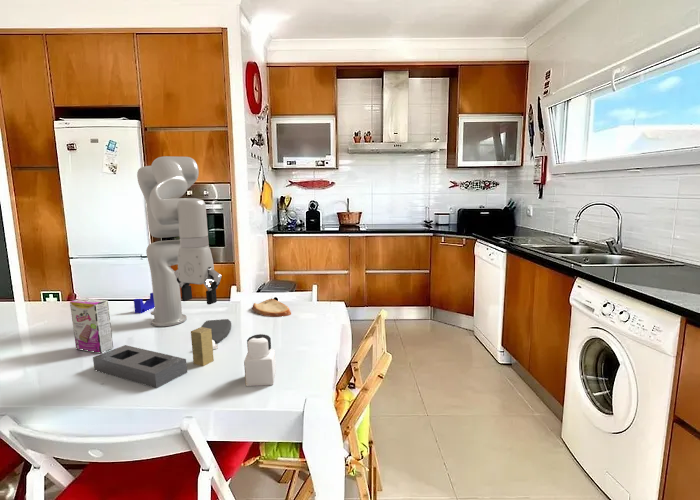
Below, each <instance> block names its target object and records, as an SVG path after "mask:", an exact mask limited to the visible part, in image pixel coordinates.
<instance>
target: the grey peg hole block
mask: <svg viewBox="0 0 700 500" xmlns="http://www.w3.org/2000/svg"><path fill="white" fill-rule="evenodd" d="M92 362H93V370H94V371H95V370H97V371H96V372H98V371H100V372H99V373H102V372H103V373H102V374H105V373H106V375H110V376H112V377H116V378H118V379H119V378H120V379H123V380H127V381H130V382H133V383H137V384H141V385H144V386H147V387H151V388H154V389H158V388H160V387H162V386H164V385H165V384H168V383H170V382H172V381H174V380H176V379H177V378H180V377H181V376H183V375H185V374H187V373H188V366H187V359H186V358H183V357H179V356H175V355H170V354H166V353H162V352H157V351H152V350H148V349H144V348H140V347H135V346H130V345H127V344H126V345H125V344H124V345H122V346H119V347H116V348H113V349H110V350H108V351H106V352H104V353H99V354H98V355H95V356H93V357H92Z"/></svg>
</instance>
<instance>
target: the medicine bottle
mask: <svg viewBox="0 0 700 500" xmlns="http://www.w3.org/2000/svg"><path fill="white" fill-rule="evenodd" d="M246 344H247V346H246V347H247V354H246V356H245V358H244V360H243V363H244V365H243V366H244V379H245V381H244V382H245V386H246V387H256V386H257V387H259V386H262V387H263V386H272V385H274V383H275V378H276V375H277V369H276V366H277V364H276V352H275V351H276V350H275V349H274V348H272V341H271V337H270V336H269V335H267V334H263V333H262V334H261V333H260V334H254V335H251V336H249V337H248V339H247V340H246Z"/></svg>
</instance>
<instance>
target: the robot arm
mask: <svg viewBox="0 0 700 500" xmlns="http://www.w3.org/2000/svg"><path fill="white" fill-rule="evenodd" d="M136 177H137V183H138V187H139V188H140V190H141V192H142V195H143V196H144V200H145V203H146V213H147V214H146V217H147V226H148V230H149V234H150V235H151V237H153V238H158V239H161V238H173V237H179V239H172V240H171V239H170V240H167V239H166V240H159V241H155V242H151V243H149V245H147V247H146V250H145V251H146V259H147V262H148V266H149V270H150V276H151V286H152V293H153V297H154V307H155V308H153V310H152V311H150V315H151V316H152V315H153V318H152V320H151V325H152V326H154V327H171V326H176V325H178V324H182V323H184V322H186V321H187V315H185V314H183V311H182V310H183V309H182V302H187V301H190V300H192V299H193V293H192V292H193V291H192V285H190V284H193V285H204V286H205V288H206V291H205V294H206V295H205V298H206V305H208V306H209V305H212V304H214V303H217V301H218V300H217V289H218V286H219V285H220V284H221V279H222V274H221V273H219V272H218V271H216V270H215V265H214V259H213V254H212V250H211V248H210V245H209V244H210V243H209V230H208V217H207V207H206V205H207V204H206V203H205V201H204V200H203V199H202V198H201V199H200V198H195V197H188V198H182V197H183V195H185V194H186V192H187V191H188V189H190V188H191V186H193V185H194V184H195V182H197V180H198V178H199V165H198V164H197V162H196V159H194V158H192V157H190V156H173V155H172V156H169V155H168V156H166V155H165V156H158V157H157V158H155V159H154V160H153V161H152V163H151V165H146V166H145V165H144V166H142V167H140V168H138V170H137V173H136ZM175 265H177V269H176V270H174V269H173V268H172V266H175Z"/></svg>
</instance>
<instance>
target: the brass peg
mask: <svg viewBox="0 0 700 500" xmlns="http://www.w3.org/2000/svg"><path fill="white" fill-rule="evenodd" d="M190 341H191V350H192V351H191V352H192V362H193V365H195V366H196V365H197V366H201V367H205V366H207V365H208V364H211V363H212V362H214V361H215V358H214V349H213V345H212V332H211V329H210V328H204V327H201V326H200V327H198V328H196V329H193V330H190Z"/></svg>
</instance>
